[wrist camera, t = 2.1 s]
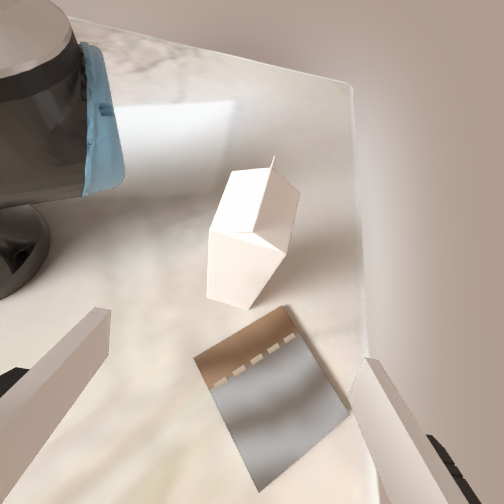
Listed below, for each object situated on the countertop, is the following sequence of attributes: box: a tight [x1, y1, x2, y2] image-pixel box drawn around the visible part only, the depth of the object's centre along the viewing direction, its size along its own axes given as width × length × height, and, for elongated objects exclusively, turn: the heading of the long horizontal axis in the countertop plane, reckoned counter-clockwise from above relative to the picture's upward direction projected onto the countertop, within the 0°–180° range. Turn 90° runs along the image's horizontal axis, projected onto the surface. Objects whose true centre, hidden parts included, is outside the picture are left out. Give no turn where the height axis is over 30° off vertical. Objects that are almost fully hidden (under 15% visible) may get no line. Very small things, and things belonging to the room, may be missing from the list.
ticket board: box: [194, 306, 350, 492], centre depth 32 cm, size 15×13×1 cm
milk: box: [207, 155, 300, 310], centre depth 28 cm, size 6×6×22 cm
